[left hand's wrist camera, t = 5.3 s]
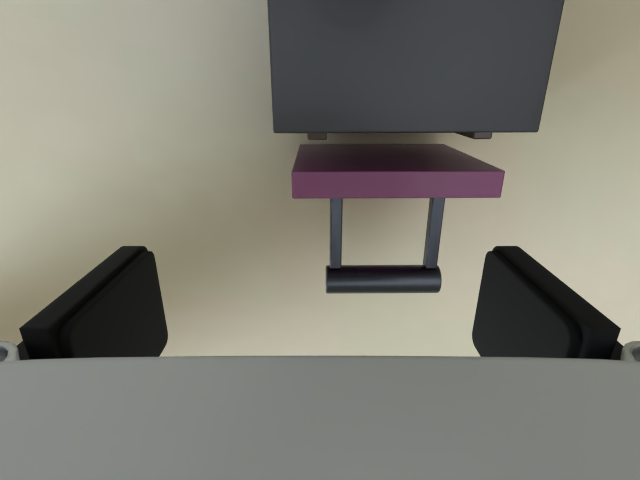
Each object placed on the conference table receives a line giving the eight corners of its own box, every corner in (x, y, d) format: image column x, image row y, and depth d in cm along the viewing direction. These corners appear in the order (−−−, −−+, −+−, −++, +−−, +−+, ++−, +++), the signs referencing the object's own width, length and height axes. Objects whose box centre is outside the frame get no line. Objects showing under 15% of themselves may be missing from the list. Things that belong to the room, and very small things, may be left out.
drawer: (432, 247, 27) (480, 313, 19) (302, 247, 27) (295, 314, 19) (473, -110, 20) (578, -243, 12) (294, -110, 20) (279, -244, 12)
